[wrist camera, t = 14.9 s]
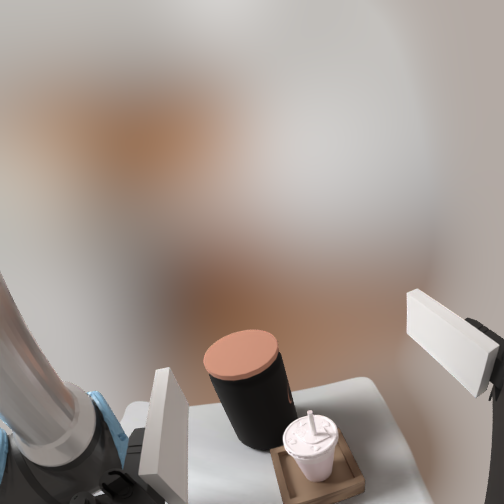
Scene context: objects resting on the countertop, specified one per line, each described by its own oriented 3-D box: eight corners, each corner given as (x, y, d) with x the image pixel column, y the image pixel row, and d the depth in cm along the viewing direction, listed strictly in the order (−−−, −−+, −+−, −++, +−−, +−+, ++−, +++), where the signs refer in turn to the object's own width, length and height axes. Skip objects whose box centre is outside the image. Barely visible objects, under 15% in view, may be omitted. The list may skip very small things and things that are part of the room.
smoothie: (333, 493, 28) (324, 438, 24) (287, 485, 31) (264, 428, 27) (347, 456, 33) (342, 392, 29) (304, 450, 36) (288, 387, 32)
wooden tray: (289, 516, 28) (284, 506, 27) (275, 462, 38) (269, 449, 37) (364, 491, 29) (365, 480, 28) (340, 442, 39) (338, 427, 38)
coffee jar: (311, 430, 43) (293, 349, 38) (255, 463, 39) (219, 387, 34) (278, 398, 52) (255, 321, 47) (228, 425, 48) (193, 350, 43)
